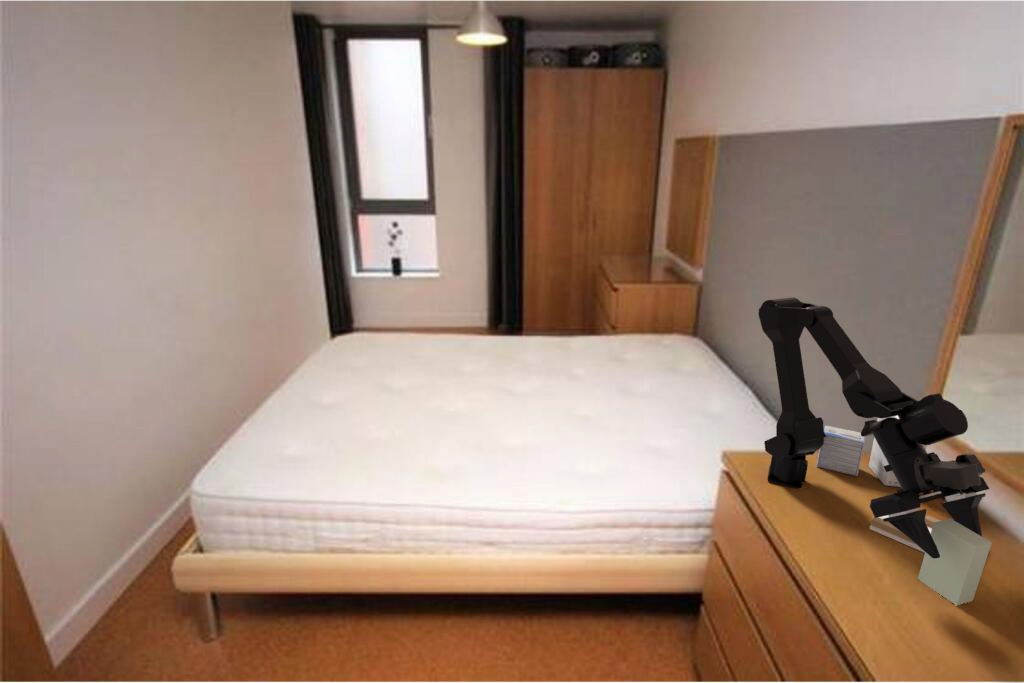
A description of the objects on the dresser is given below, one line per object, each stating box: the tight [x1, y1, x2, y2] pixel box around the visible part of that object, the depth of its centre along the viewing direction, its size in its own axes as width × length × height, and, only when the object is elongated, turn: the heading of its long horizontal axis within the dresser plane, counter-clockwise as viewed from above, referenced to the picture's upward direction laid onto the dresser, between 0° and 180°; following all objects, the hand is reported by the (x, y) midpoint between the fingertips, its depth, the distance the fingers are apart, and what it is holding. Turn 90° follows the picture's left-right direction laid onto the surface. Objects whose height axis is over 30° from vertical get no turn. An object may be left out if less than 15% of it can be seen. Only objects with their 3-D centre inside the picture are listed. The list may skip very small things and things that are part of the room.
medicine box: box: [816, 425, 866, 477], centre depth 118 cm, size 8×4×9 cm, turn 58°
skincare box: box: [868, 415, 928, 488], centre depth 113 cm, size 8×7×16 cm
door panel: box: [917, 517, 993, 607], centre depth 83 cm, size 6×4×11 cm, turn 18°
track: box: [869, 514, 942, 554], centre depth 97 cm, size 14×10×2 cm
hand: (958, 551), depth 82 cm, fingers open, 9 cm apart
